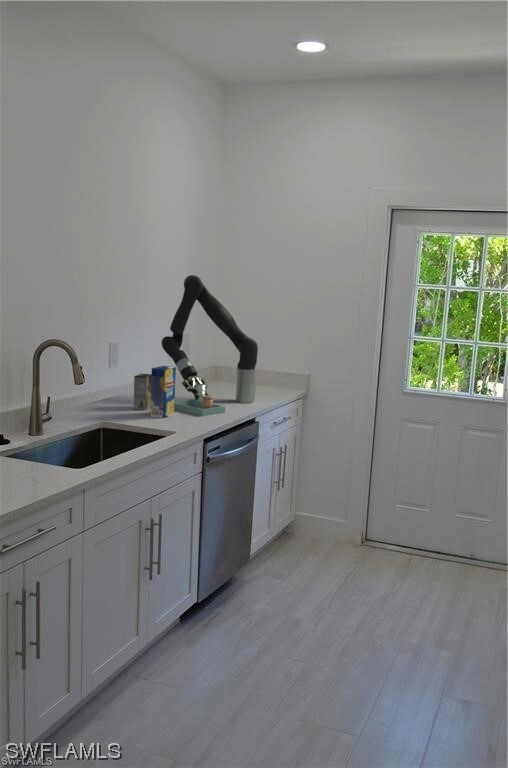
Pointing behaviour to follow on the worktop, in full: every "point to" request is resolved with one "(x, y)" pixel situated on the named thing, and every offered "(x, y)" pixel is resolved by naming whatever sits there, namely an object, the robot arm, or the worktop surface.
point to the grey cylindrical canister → (200, 391)
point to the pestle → (207, 402)
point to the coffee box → (142, 391)
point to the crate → (197, 407)
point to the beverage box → (162, 391)
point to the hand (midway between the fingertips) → (202, 396)
